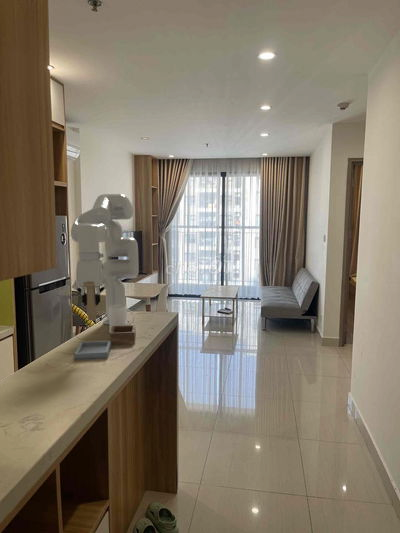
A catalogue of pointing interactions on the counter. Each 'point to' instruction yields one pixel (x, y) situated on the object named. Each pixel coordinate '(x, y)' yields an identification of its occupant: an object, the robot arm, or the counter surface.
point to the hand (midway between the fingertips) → (91, 304)
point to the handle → (91, 301)
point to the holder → (123, 335)
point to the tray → (93, 350)
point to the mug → (118, 316)
